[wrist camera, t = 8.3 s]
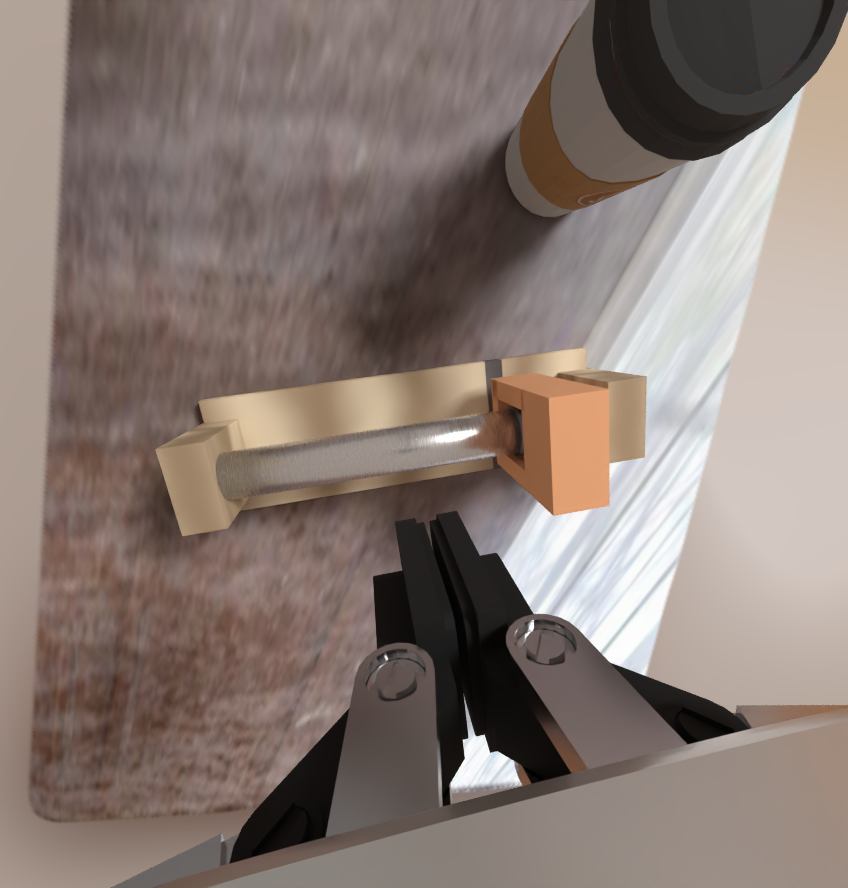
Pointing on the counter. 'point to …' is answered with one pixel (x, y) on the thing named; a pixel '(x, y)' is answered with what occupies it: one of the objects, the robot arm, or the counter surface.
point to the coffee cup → (660, 91)
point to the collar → (558, 440)
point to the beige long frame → (369, 426)
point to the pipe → (368, 453)
